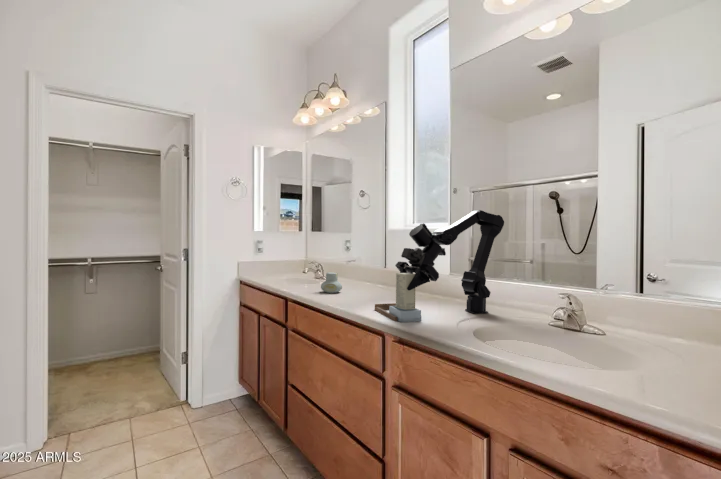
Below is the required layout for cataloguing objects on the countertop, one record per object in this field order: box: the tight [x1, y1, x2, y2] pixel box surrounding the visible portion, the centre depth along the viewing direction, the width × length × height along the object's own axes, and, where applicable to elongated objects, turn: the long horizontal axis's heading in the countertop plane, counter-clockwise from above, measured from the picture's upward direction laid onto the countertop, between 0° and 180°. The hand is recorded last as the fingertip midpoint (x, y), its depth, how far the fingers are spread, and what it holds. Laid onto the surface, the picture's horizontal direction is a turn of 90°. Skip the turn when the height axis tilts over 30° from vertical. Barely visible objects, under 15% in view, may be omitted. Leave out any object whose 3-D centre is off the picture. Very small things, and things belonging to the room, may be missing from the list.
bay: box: [374, 302, 398, 322], centre depth 129 cm, size 10×20×2 cm, turn 18°
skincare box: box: [395, 272, 416, 310], centre depth 122 cm, size 6×4×12 cm
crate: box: [388, 306, 422, 323], centre depth 122 cm, size 8×10×4 cm
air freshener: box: [320, 272, 343, 294], centre depth 180 cm, size 11×8×10 cm
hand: (402, 288), depth 121 cm, fingers closed on skincare box, 6 cm apart
